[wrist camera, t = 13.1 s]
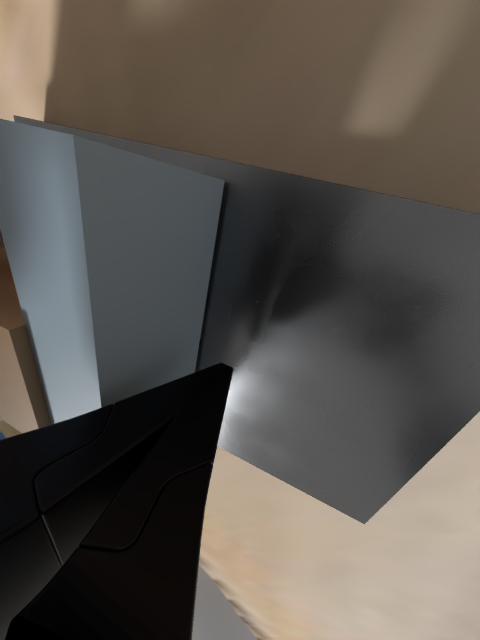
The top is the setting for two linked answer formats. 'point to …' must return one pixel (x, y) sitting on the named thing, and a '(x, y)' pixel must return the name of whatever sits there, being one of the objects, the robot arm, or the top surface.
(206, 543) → the top surface
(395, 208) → the vise base
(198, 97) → the top surface
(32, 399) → the walnut block
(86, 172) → the plate
